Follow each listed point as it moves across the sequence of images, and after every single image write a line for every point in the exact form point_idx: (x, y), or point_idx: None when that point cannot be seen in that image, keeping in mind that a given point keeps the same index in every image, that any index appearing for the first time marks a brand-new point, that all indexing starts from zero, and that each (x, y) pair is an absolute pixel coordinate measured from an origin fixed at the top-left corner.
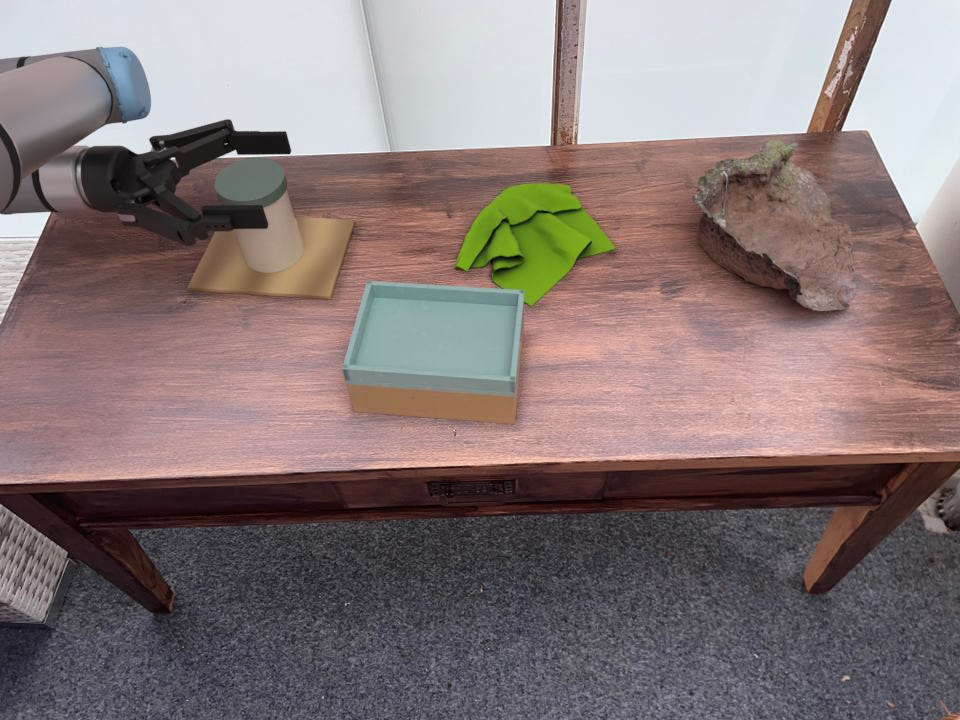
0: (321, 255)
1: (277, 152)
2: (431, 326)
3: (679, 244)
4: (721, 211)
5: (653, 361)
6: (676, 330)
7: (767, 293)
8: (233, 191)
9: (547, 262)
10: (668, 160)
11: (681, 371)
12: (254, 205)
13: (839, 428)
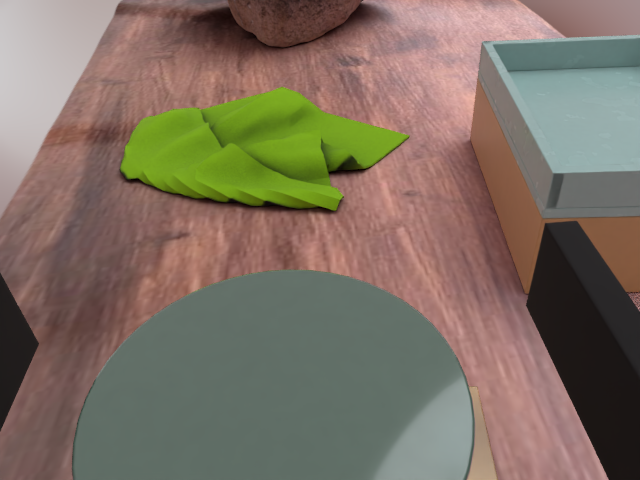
0: None
1: (14, 383)
2: (584, 130)
3: (275, 59)
4: (244, 19)
5: (469, 66)
6: (416, 57)
7: (349, 25)
8: (398, 445)
9: (314, 129)
10: (111, 67)
11: (475, 54)
12: (562, 243)
13: (502, 5)
